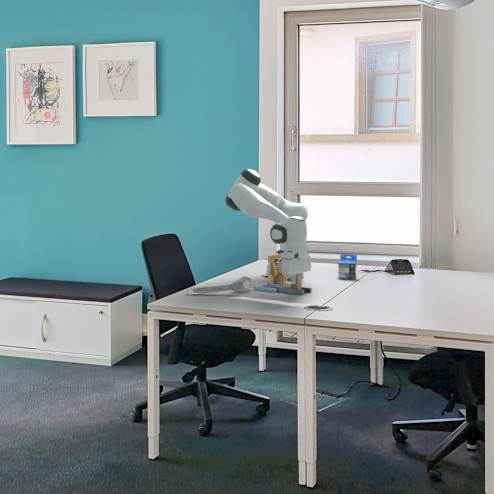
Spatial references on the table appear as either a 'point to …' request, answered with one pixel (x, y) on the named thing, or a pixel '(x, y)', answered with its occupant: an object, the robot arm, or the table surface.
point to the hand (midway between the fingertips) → (296, 283)
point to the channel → (294, 290)
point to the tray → (263, 286)
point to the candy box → (275, 270)
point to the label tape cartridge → (347, 266)
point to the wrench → (224, 286)
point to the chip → (288, 285)
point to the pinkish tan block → (298, 282)
